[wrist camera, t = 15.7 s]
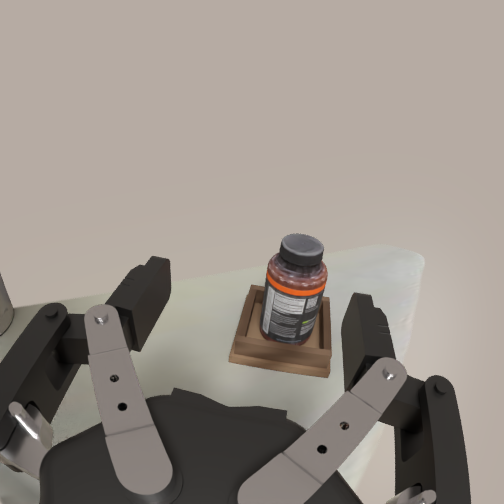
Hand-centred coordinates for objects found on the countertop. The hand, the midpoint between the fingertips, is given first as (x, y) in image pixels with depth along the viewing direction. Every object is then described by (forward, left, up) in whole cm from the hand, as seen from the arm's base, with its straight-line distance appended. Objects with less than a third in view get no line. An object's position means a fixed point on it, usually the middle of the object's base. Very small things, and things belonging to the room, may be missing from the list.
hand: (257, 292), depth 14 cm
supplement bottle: (+3, +16, -17) cm, 23 cm away
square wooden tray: (+3, +16, -18) cm, 24 cm away
